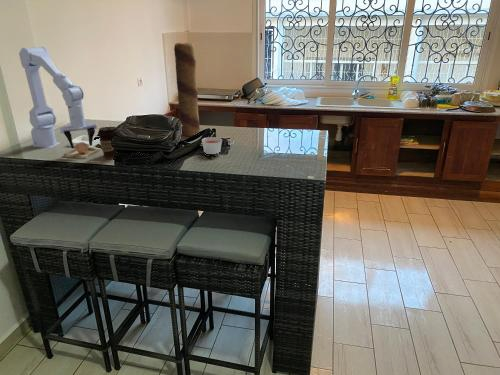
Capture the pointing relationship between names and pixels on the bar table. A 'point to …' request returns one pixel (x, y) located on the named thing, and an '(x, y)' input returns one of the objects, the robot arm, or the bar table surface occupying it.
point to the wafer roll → (187, 88)
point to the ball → (81, 147)
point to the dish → (85, 140)
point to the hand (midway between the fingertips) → (81, 146)
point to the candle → (211, 145)
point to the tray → (82, 155)
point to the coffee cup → (107, 141)
